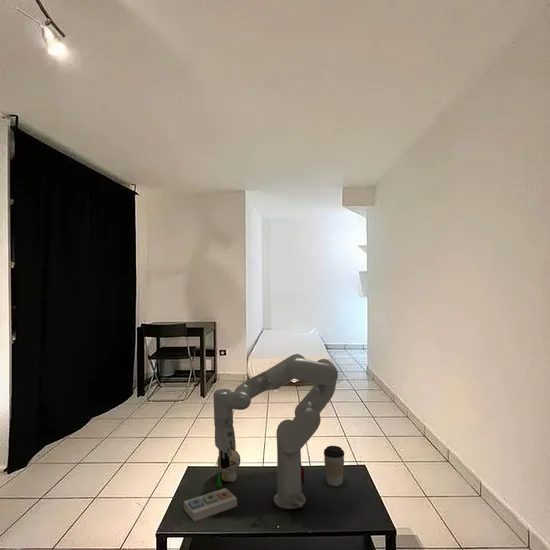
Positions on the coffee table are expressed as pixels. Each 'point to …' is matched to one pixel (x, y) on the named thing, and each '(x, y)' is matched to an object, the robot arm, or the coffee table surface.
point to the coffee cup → (334, 465)
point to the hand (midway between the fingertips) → (225, 467)
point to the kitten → (229, 468)
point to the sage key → (210, 498)
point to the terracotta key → (224, 495)
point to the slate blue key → (195, 503)
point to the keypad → (210, 506)
